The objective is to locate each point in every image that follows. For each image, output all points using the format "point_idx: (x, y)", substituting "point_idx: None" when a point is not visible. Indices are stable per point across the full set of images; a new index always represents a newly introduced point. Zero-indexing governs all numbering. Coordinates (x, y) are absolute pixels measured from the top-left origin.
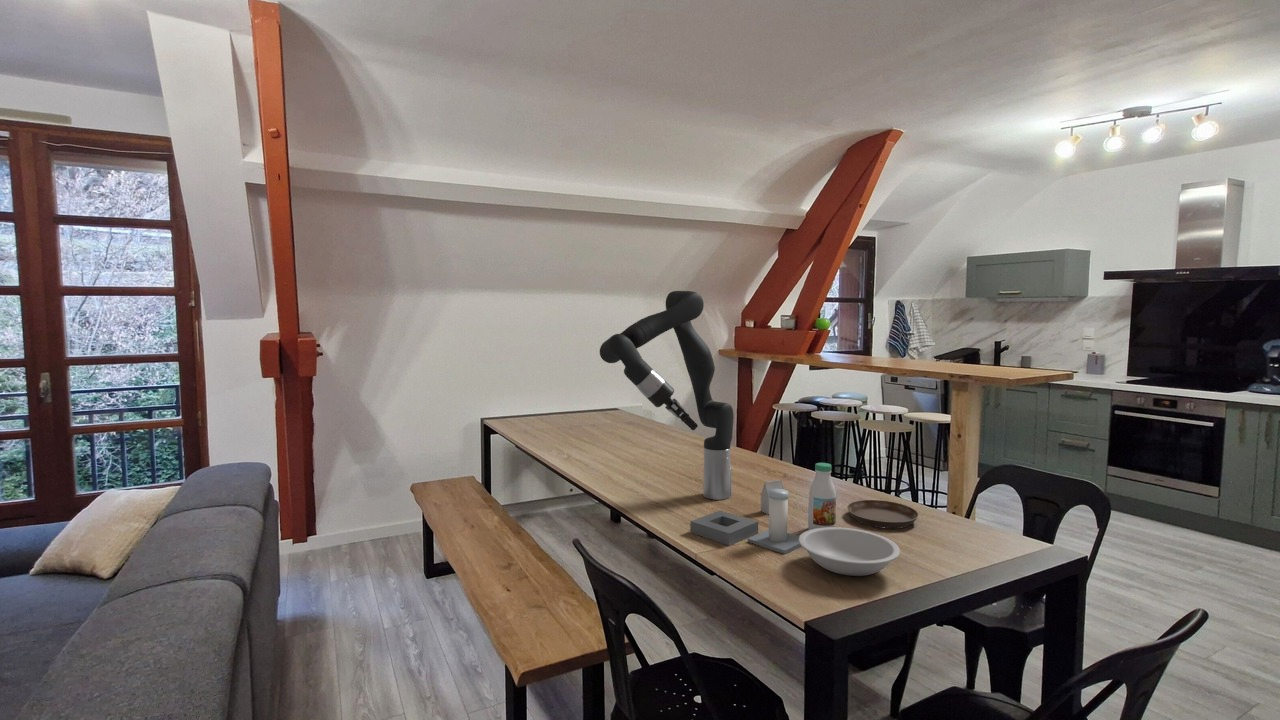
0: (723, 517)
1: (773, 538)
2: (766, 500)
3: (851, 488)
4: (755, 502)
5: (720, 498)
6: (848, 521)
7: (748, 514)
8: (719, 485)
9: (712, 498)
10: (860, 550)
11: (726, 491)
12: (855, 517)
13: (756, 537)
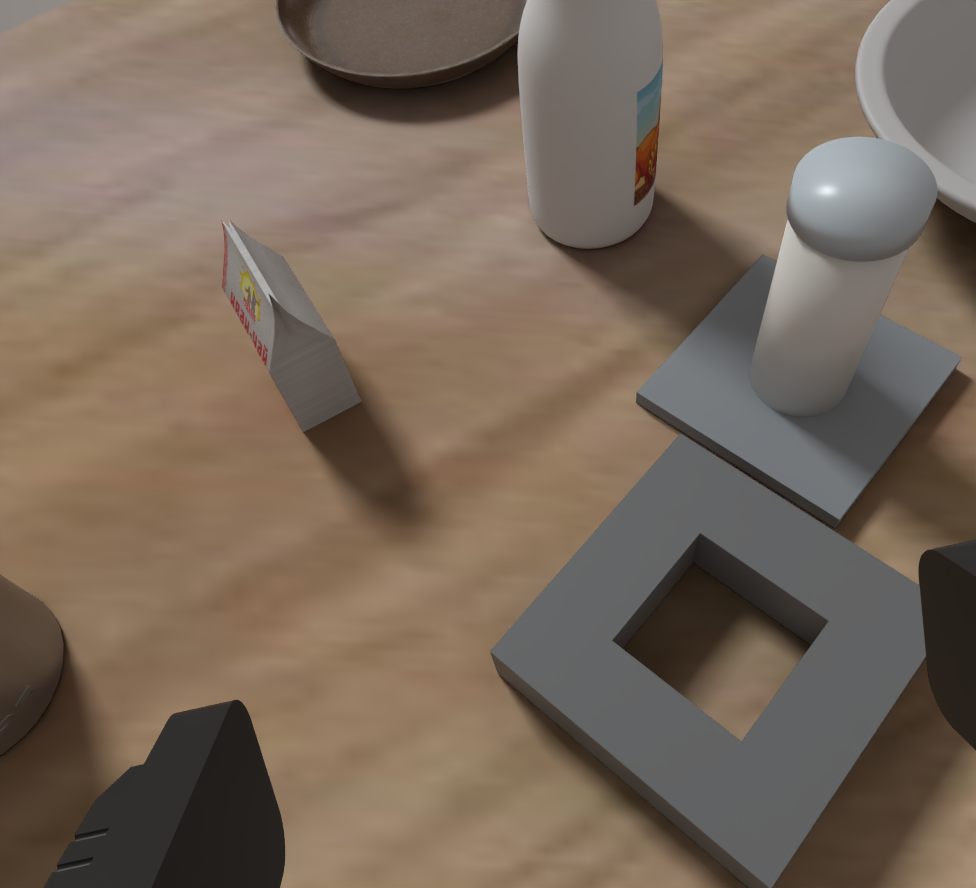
0: (617, 635)
1: (846, 389)
2: (326, 364)
3: (2, 58)
4: (143, 449)
5: (60, 649)
6: (452, 110)
7: (358, 498)
8: (6, 628)
9: (43, 705)
10: (925, 90)
11: (24, 595)
12: (458, 73)
13: (806, 474)
